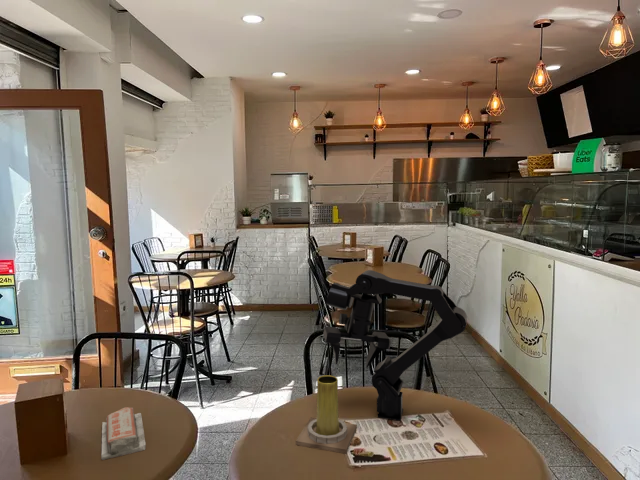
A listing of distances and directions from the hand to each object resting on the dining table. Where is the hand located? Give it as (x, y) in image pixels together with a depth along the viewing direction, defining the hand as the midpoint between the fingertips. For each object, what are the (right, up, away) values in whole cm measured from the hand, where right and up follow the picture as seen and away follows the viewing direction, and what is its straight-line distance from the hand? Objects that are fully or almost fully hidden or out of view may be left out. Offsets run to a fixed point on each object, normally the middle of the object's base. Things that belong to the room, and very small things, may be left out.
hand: (351, 365), depth 127 cm
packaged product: (-60, -15, -13) cm, 64 cm away
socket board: (-7, -14, -14) cm, 21 cm away
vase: (-7, -14, -14) cm, 21 cm away
